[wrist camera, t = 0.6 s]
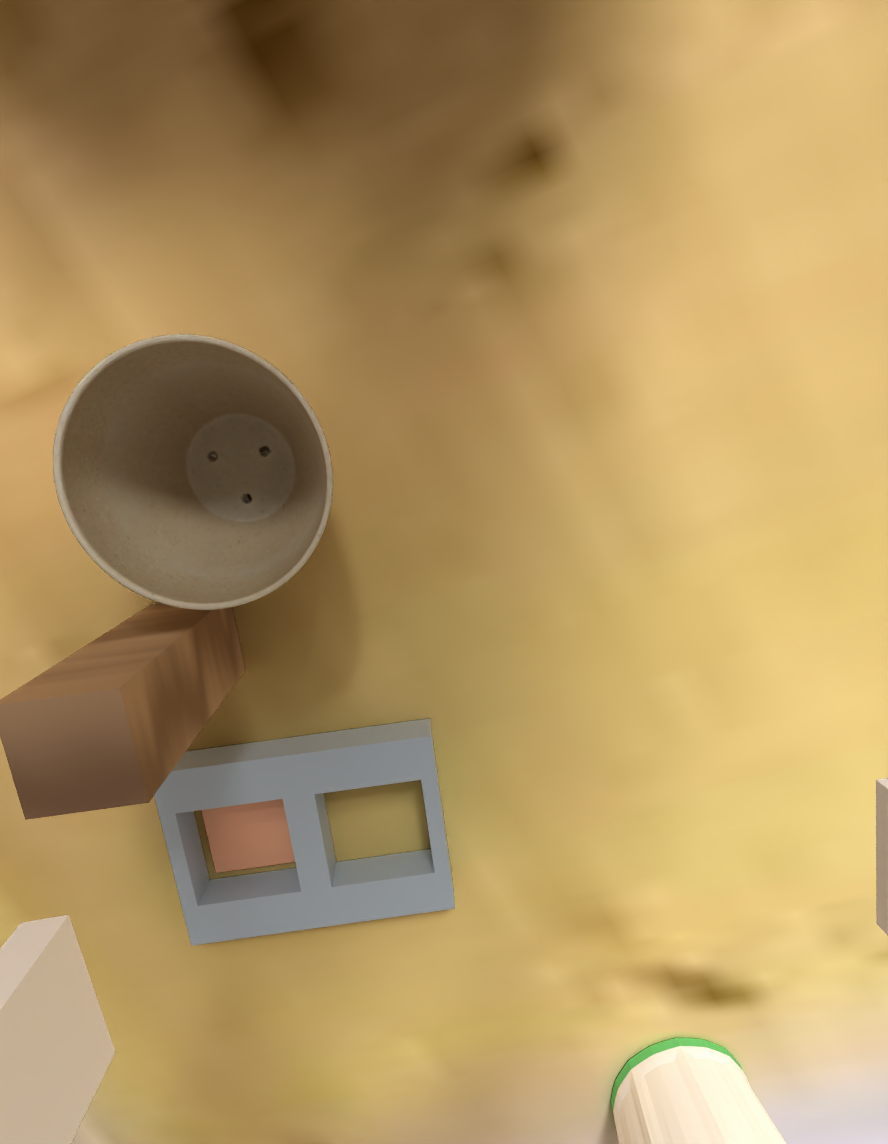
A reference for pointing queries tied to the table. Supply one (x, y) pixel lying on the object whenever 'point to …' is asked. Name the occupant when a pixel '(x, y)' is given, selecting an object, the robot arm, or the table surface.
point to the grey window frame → (298, 833)
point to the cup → (688, 1098)
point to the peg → (119, 710)
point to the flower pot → (192, 471)
